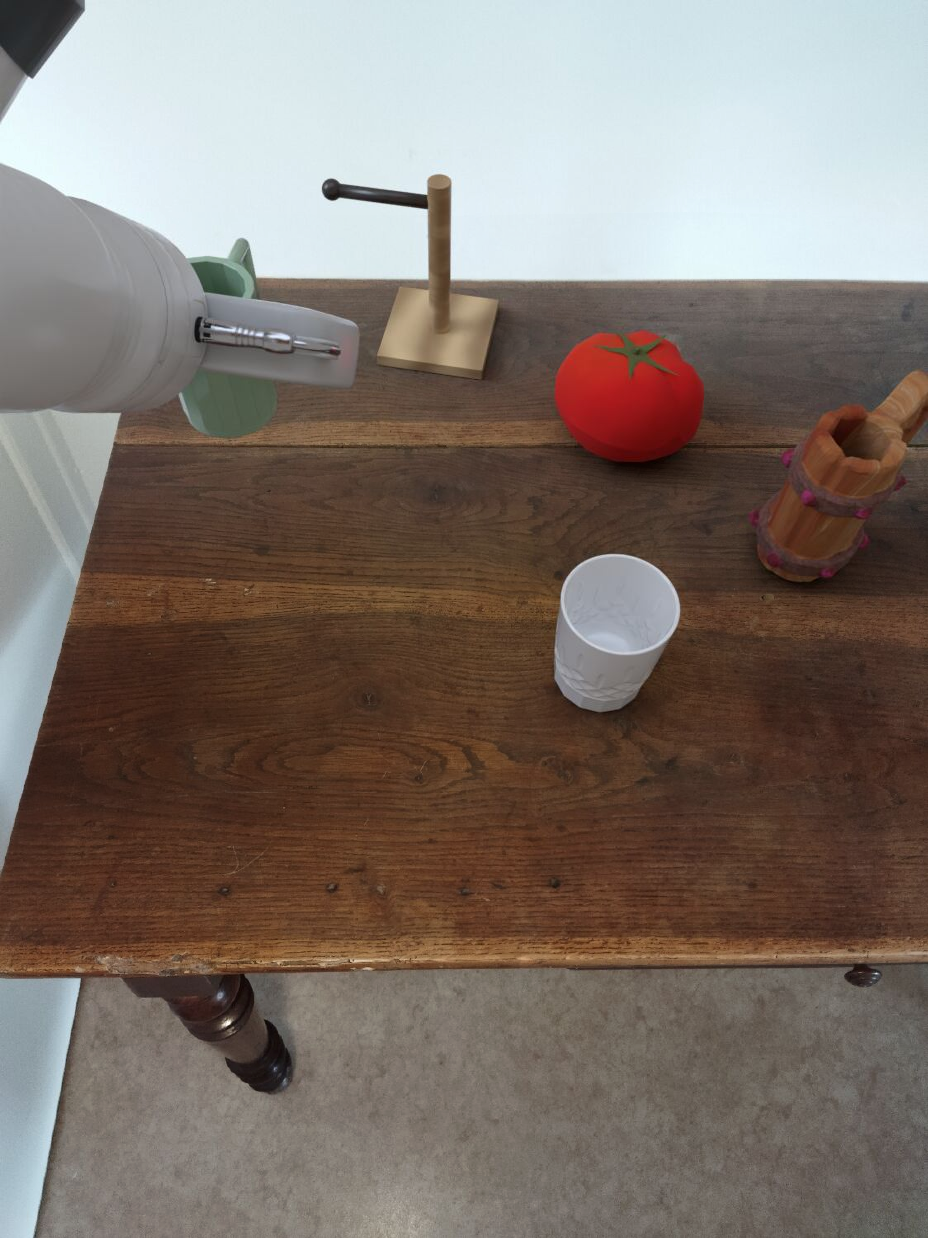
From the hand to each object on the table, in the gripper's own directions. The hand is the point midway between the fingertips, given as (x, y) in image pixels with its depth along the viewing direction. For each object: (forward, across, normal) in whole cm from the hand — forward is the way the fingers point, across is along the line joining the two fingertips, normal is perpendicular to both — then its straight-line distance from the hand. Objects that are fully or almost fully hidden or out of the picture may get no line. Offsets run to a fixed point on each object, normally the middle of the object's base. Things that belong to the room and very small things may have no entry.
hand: (218, 339), depth 54 cm
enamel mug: (+4, 0, +2) cm, 5 cm away
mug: (+22, -44, +8) cm, 50 cm away
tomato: (+28, -27, +3) cm, 39 cm away
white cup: (+10, -27, +20) cm, 35 cm away
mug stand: (+34, -6, -4) cm, 35 cm away
